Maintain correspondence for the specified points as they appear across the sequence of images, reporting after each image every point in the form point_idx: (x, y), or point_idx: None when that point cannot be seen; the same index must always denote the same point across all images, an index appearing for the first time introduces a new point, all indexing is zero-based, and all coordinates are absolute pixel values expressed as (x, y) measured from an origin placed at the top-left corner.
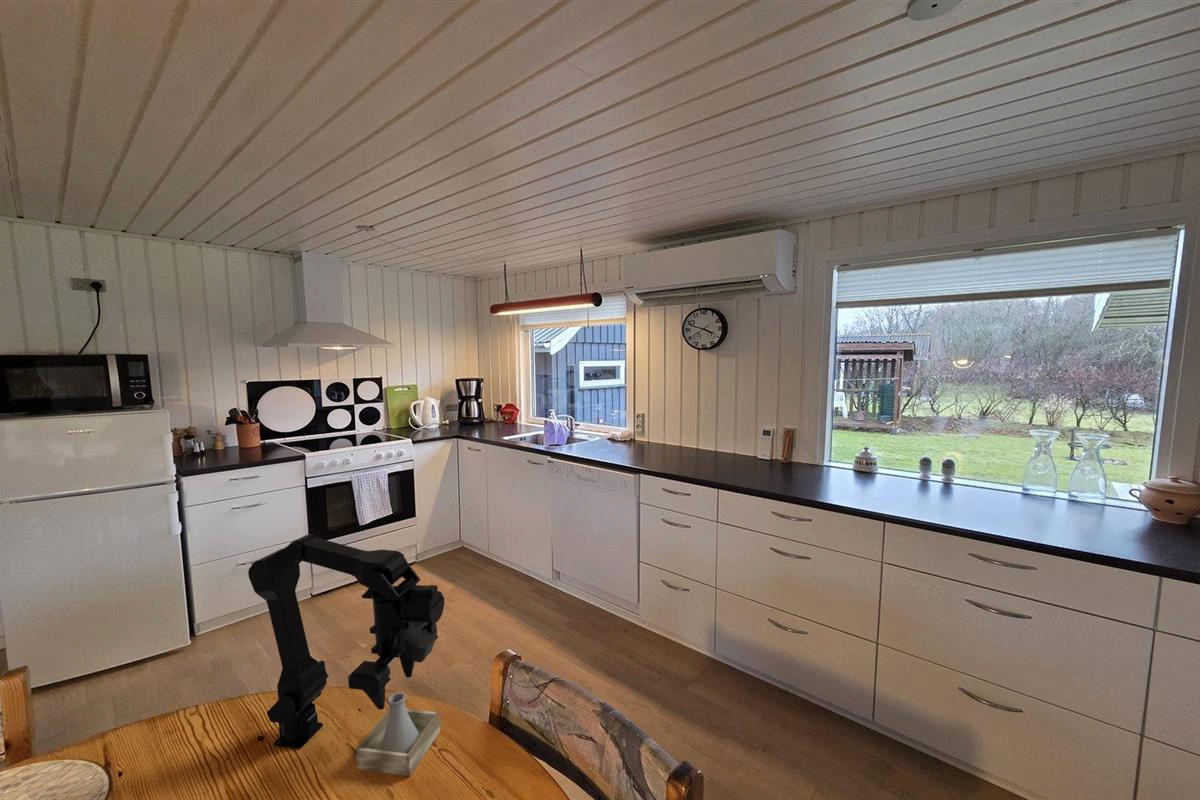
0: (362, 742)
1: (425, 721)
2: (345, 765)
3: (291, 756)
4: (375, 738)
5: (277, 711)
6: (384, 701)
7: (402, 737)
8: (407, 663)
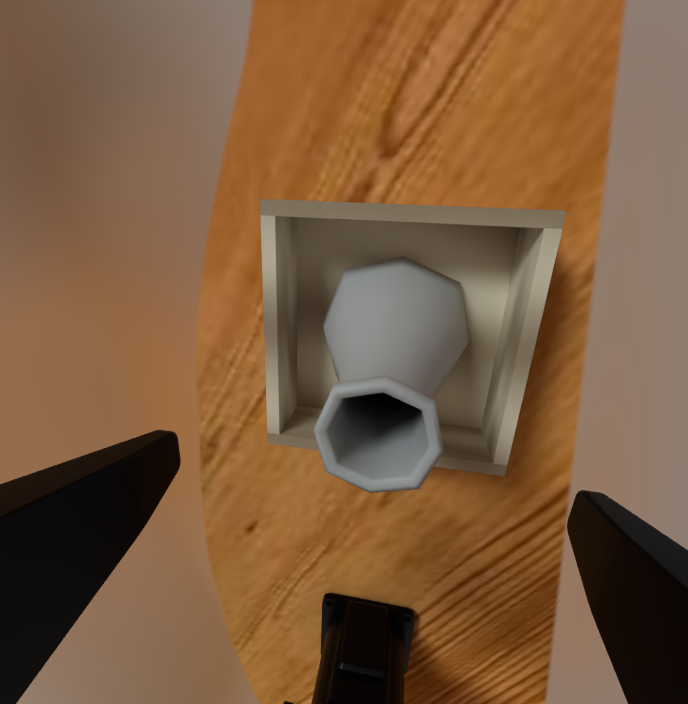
0: (464, 467)
1: (289, 269)
2: None
3: (437, 616)
4: None
5: None
6: (640, 540)
7: (440, 308)
8: (63, 550)
